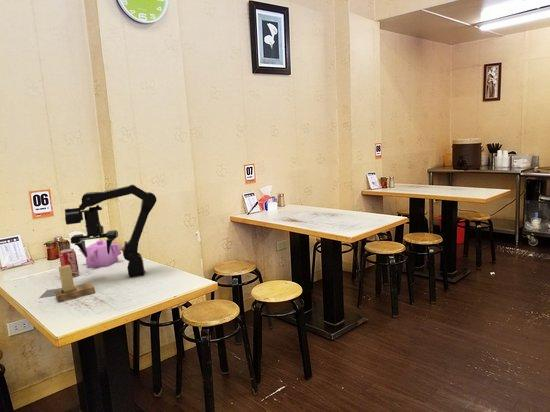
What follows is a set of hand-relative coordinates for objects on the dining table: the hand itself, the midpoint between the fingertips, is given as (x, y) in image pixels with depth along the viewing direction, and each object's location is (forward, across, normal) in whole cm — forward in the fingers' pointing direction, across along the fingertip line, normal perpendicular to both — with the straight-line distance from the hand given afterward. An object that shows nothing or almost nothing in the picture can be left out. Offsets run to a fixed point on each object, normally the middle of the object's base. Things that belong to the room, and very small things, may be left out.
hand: (97, 255), depth 185 cm
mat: (+12, +17, +8) cm, 22 cm away
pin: (+12, +9, +16) cm, 22 cm away
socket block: (+12, +7, +16) cm, 21 cm away
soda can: (+12, +17, -15) cm, 26 cm away
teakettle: (+12, +6, -33) cm, 36 cm away
